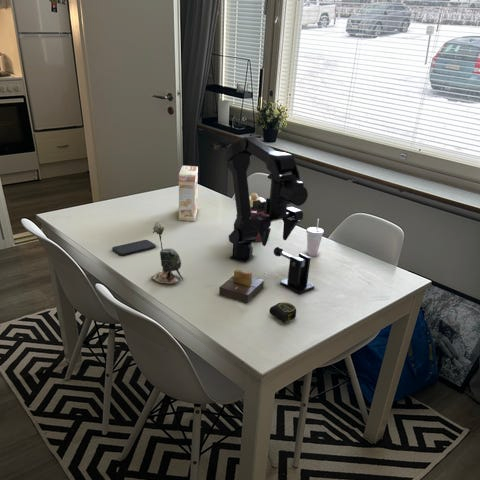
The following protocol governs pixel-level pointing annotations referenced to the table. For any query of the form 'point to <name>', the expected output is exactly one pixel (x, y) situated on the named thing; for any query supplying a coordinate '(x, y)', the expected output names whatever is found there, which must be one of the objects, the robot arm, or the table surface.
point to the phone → (133, 247)
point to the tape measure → (283, 311)
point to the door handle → (286, 255)
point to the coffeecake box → (188, 193)
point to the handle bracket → (298, 275)
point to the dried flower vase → (167, 262)
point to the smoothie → (314, 239)
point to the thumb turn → (242, 277)
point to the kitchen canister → (253, 198)
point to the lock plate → (241, 289)
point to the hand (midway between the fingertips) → (274, 242)
